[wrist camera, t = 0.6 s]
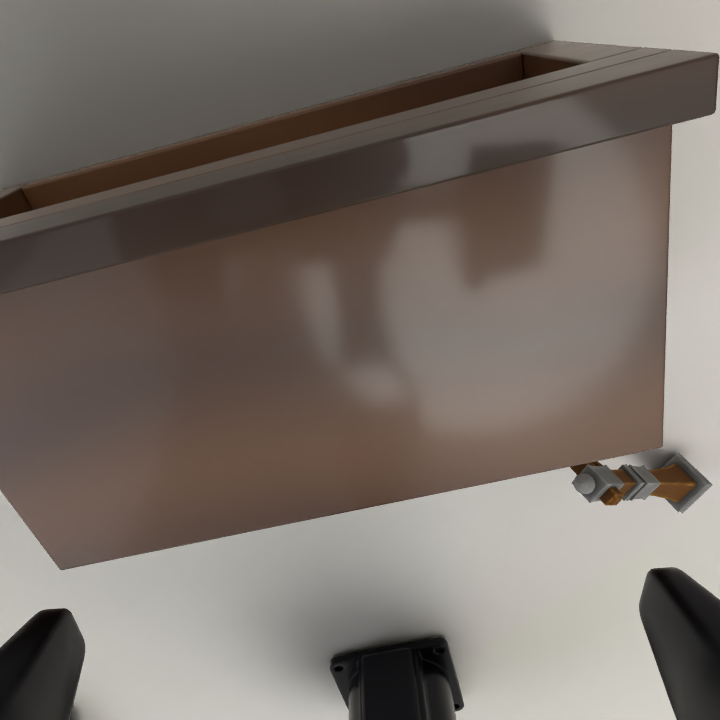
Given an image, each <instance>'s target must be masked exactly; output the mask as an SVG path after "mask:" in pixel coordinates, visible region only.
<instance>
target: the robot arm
mask: <svg viewBox="0 0 720 720" xmlns="http://www.w3.org/2000/svg"><path fill="white" fill-rule="evenodd" d="M639 611H640V616H641V620H642V623H643V626H644V629H645V631H646V634H647V637H648V640H649V643H650V646H651V649H652V651H653V654H654V657H655V660H656V663H657V666H658V669H659V671H660V674H661V677H662V680H663V683H664V686H665V689H666V691H667V694H668V697H669V700H670V703H671V706H672V708H673V711H674V714H675V716H676V719H677V720H720V600H719V599H718V598H717V597H715V596H714V595H713V594H712V593H710V592H709V591H708V590H706V589H705V588H704V587H703V586H701V585H700V584H699V583H697V582H696V581H695V580H694V579H692V578H691V577H690V576H688V575H687V574H686V573H684V572H683V571H682V570H680V569H678V568H673V567H669V568H654V569H651V570H650V571H649V572H648V573H647V576H646V580H645V583H644V587H643V591H642V595H641V598H640V603H639ZM84 656H85V642H84V639H83V636H82V634H81V632H80V630H79V628H78V626H77V624H76V622H75V619H74V617H73V615H72V613H71V612H70V611H69V610H68V609H65V608H62V609H47V610H42V611H40V612H38V613H37V614H35V615H34V616H33V617H32V618H31V619H30V620H29V621H28V622H27V623H26V624H25V625H24V626H23V627H22V628H20V629H19V630H18V631H17V632H16V633H15V634H14V635H13V636H12V637H11V638H10V639H9V640H8V641H7V642H6V643H5V644H4V645H3V646H2V647H0V720H70V716H71V711H72V707H73V703H74V699H75V694H76V690H77V686H78V682H79V678H80V673H81V669H82V665H83V661H84ZM330 671H331V673H332V675H333V677H334V679H335V681H336V684H337V686H338V688H339V690H340V692H341V694H342V697H343V699H344V701H345V703H346V705H347V707H348V710H349V720H456V715H455V711H459V710H461V709H462V708H463V707H464V703H463V698H462V694H461V690H460V687H459V683H458V679H457V676H456V672H455V668H454V665H453V661H452V657H451V654H450V650H449V646H448V643H447V641H446V640H445V639H443V638H435V639H430V640H424V641H418V642H413V643H407V644H402V645H396V646H391V647H385V648H380V649H374V650H369V651H363V652H358V653H352V654H347V655H341V656H336V657H333V658H332V659H331V660H330Z"/></svg>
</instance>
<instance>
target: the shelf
mask: <svg viewBox="0 0 720 720" xmlns="http://www.w3.org/2000/svg"><path fill="white" fill-rule="evenodd" d="M718 65H719V55H718V53H709V52H697V51H684V50H670V49H658V48H641V47H629V46H617V45H604V44H592V43H579V42H566V41H550V42H546V43H543V44H539V45H535V46H532V47H528V48H524V49H521V50H518V51H517V52H509V53H506V54H502V55H498V56H495V57H491V58H487V59H484V60H480V61H476V62H473V63H469V64H465V65H461V66H458V67H454V68H450V69H447V70H443V71H439V72H436V73H432V74H428V75H425V76H421V77H417V78H413V79H410V80H406V81H402V82H399V83H395V84H391V85H388V86H384V87H380V88H377V89H373V90H369V91H366V92H362V93H358V94H354V95H351V96H347V97H343V98H340V99H336V100H332V101H329V102H325V103H321V104H318V105H314V106H310V107H306V108H303V109H299V110H295V111H292V112H288V113H284V114H281V115H277V116H273V117H270V118H266V119H262V120H258V121H255V122H251V123H247V124H244V125H240V126H236V127H233V128H229V129H225V130H222V131H218V132H214V133H210V134H207V135H203V136H199V137H196V138H192V139H188V140H185V141H181V142H177V143H174V144H170V145H166V146H162V147H159V148H155V149H151V150H148V151H144V152H140V153H137V154H133V155H129V156H126V157H122V158H118V159H114V160H111V161H107V162H103V163H100V164H96V165H92V166H89V167H85V168H81V169H78V170H74V171H70V172H66V173H63V174H59V175H55V176H52V177H48V178H44V179H41V180H37V181H33V182H31V183H25V184H22V185H18V186H14V187H11V188H7V189H3V190H0V490H1V492H2V493H3V494H4V496H5V497H6V498H7V500H8V501H9V502H10V504H11V505H12V506H13V508H14V509H15V510H16V511H17V513H18V514H19V515H20V517H21V518H22V519H23V521H24V522H25V523H26V525H27V526H28V527H29V529H30V530H31V531H32V533H33V534H34V535H35V537H36V538H37V539H38V541H39V542H40V543H41V545H42V546H43V547H44V549H45V550H46V551H47V553H48V554H49V555H50V557H51V558H52V559H53V561H54V562H55V563H56V565H57V566H58V567H59V569H61V570H64V569H69V568H74V567H79V566H84V565H89V564H94V563H99V562H104V561H109V560H113V559H118V558H123V557H128V556H133V555H138V554H143V553H148V552H153V551H158V550H163V549H167V548H172V547H177V546H182V545H187V544H192V543H197V542H202V541H207V540H212V539H217V538H221V537H226V536H231V535H236V534H241V533H246V532H251V531H256V530H261V529H266V528H271V527H275V526H280V525H285V524H290V523H295V522H300V521H305V520H310V519H315V518H320V517H325V516H329V515H334V514H339V513H344V512H349V511H354V510H359V509H364V508H369V507H374V506H379V505H383V504H388V503H393V502H398V501H403V500H408V499H413V498H418V497H423V496H428V495H433V494H437V493H442V492H447V491H452V490H457V489H462V488H467V487H472V486H477V485H482V484H487V483H492V482H496V481H501V480H506V479H511V478H516V477H521V476H526V475H531V474H536V473H541V472H546V471H550V470H555V469H560V468H565V467H570V466H575V465H580V464H585V463H590V462H595V461H600V460H604V459H609V458H614V457H619V456H624V455H629V454H634V453H639V452H644V451H649V450H654V449H658V448H661V447H662V445H663V411H664V378H665V344H666V310H667V277H668V243H669V209H670V175H671V142H672V125H673V124H677V123H681V122H685V121H688V120H692V119H696V118H700V117H704V116H708V115H711V114H713V113H715V110H716V96H717V80H718Z"/></svg>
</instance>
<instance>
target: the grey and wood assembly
mask: <svg viewBox="0 0 720 720" xmlns="http://www.w3.org/2000/svg"><path fill="white" fill-rule="evenodd" d="M570 467H571V469H572V470H573V471H574V472H575V473H576V474H577V475H578V476H576V478H575V480H574V481H573V482H572V484H573V485H574V487H575V489H576V490H577V491H578V492H580V493H581V494H582V495H583V496H584V497H585V498H586V499H587V500H588V501H589V502H590V503H591V502H593V501H602V502H603V503H604V504H605V505H617V504H618V503H619V502H620V501H621V499H623V500H624V501H625V500H627V501H628V500H629V499H630V500H633V499H640V498H642V499H644V500H645V499H646V498H647V497H648V496H649V495H652V496H657V497H662V498H665V499H666V500H667V501H668V502H669V503H670V504H671V505H672V506H673V507H674V508H675V509H676V510H677V511H678V512H679V511H680V512H681V513H683V512H684V511H685V510H687V509H688V508H689V507H690V506H691V505H692V504H693V503H694V502H695V501H696V500H697V499H698V498H699V497H700V496H701V495H702V494H704V493H705V492H706V491H707V490H708V489H709V488H710V487H711V486H712V484H711V483H710V482H709V481H708V480H707V479H706V478H705V477H704V476H703V475H702V474H701V473H700V472H699V471H698V470H697V469H695V468H694V467H693V466H692V465H691V464H690V463H689V462H688V461H687V460H686V459H685V458H684V457H683V456H682V455H681V454H680V453H679V454H678V455H676V454H675V455H674V456H673V457H672V458H671V459H670V460H669V461H668V462H667V463H666V464H665V465H664V466H663V467H662V468H659V469H654V470H648V469H647V468H646V467H645V466H644V465H643V466H641V467H636V466H632V465H629V466H627V465H622V466H621V467H620V468H619V469H618V470H610V469H609V468H608V467H607V466H606V465H604V466H603V465H602V464H600V463H599V462H597V461H595V462H590V463H585V464H580V465H575V466H570Z"/></svg>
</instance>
